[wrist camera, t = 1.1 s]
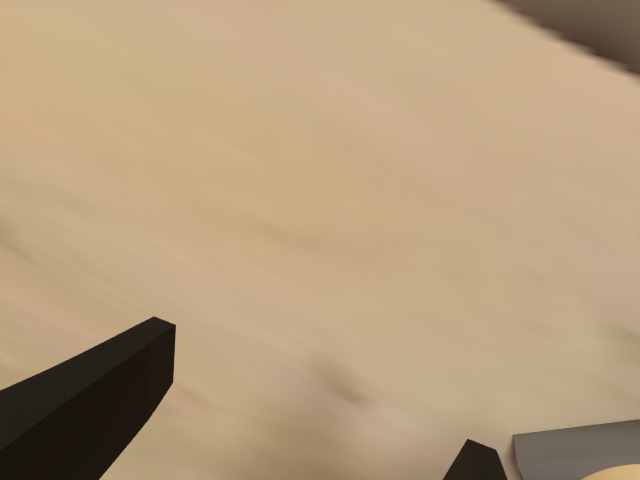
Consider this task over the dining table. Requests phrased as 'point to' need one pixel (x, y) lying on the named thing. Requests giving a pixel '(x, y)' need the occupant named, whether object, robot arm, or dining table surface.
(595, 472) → the charcoal base
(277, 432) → the dining table surface
